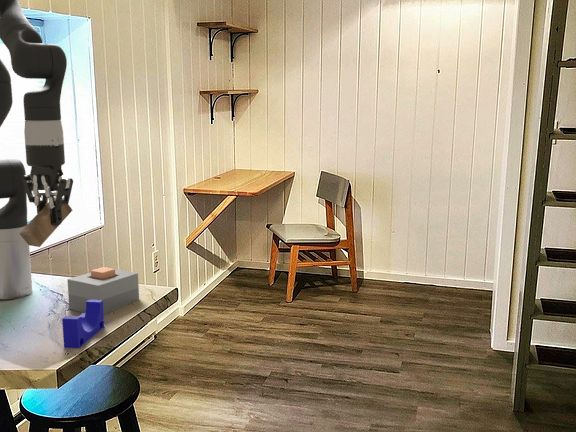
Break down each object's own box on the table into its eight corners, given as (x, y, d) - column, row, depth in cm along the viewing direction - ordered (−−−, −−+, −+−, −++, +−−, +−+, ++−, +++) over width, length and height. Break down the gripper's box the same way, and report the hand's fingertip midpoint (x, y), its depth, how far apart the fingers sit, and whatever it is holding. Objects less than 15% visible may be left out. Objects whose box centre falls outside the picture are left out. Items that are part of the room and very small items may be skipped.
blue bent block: (84, 326, 135) (82, 299, 134) (104, 327, 134) (102, 300, 133) (56, 348, 123) (54, 318, 122) (78, 349, 122) (77, 319, 121)
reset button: (91, 284, 147) (90, 270, 146) (104, 280, 150) (103, 266, 149) (103, 286, 145) (102, 272, 144) (115, 282, 148) (115, 269, 147)
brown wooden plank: (19, 233, 131) (53, 197, 138) (28, 245, 134) (61, 208, 140) (30, 235, 130) (64, 198, 136) (39, 247, 132) (72, 210, 138)
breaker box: (69, 308, 146) (67, 279, 144) (109, 295, 156) (107, 267, 155) (100, 316, 141) (98, 285, 139) (139, 302, 151) (137, 273, 149)
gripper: (7, 142, 133) (13, 223, 136) (52, 144, 126) (57, 230, 129) (37, 140, 139) (43, 218, 142) (82, 142, 132) (87, 224, 135)
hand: (50, 223), depth 136 cm, fingers closed on brown wooden plank, 3 cm apart
